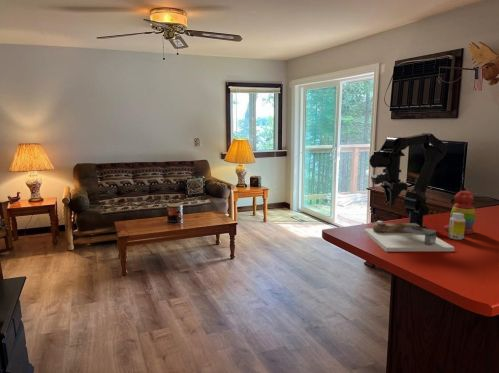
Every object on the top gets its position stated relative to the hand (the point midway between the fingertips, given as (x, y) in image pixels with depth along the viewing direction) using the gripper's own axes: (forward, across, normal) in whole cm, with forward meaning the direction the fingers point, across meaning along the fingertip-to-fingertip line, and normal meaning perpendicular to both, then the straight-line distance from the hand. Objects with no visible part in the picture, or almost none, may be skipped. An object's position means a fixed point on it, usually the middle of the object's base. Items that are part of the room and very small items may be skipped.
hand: (390, 202), depth 159 cm
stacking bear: (+12, +2, +31) cm, 33 cm away
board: (+12, +16, 0) cm, 20 cm away
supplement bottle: (+12, +12, +23) cm, 29 cm away
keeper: (+10, +21, +4) cm, 23 cm away
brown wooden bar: (+10, +8, 0) cm, 13 cm away
